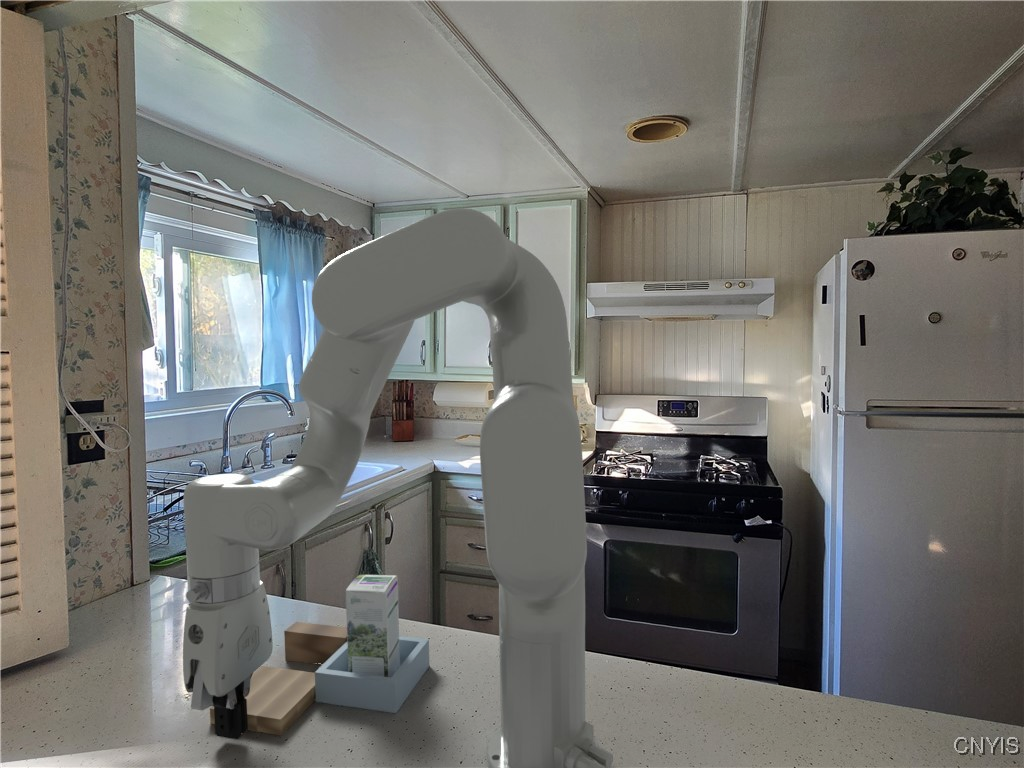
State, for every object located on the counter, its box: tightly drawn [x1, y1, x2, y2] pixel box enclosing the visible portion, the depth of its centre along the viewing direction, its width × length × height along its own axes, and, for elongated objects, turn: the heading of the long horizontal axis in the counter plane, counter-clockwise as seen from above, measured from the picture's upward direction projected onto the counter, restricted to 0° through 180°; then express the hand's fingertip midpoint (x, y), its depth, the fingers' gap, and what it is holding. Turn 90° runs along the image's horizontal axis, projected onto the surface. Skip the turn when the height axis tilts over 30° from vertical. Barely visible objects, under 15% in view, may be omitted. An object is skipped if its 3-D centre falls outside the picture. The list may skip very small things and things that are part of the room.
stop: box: [283, 621, 347, 665], centre depth 88 cm, size 10×3×4 cm, turn 76°
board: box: [209, 665, 316, 736], centre depth 77 cm, size 10×10×2 cm
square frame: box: [314, 635, 430, 714], centre depth 82 cm, size 11×11×4 cm
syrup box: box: [345, 574, 400, 678], centre depth 81 cm, size 6×6×14 cm
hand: (231, 733), depth 70 cm, fingers closed
